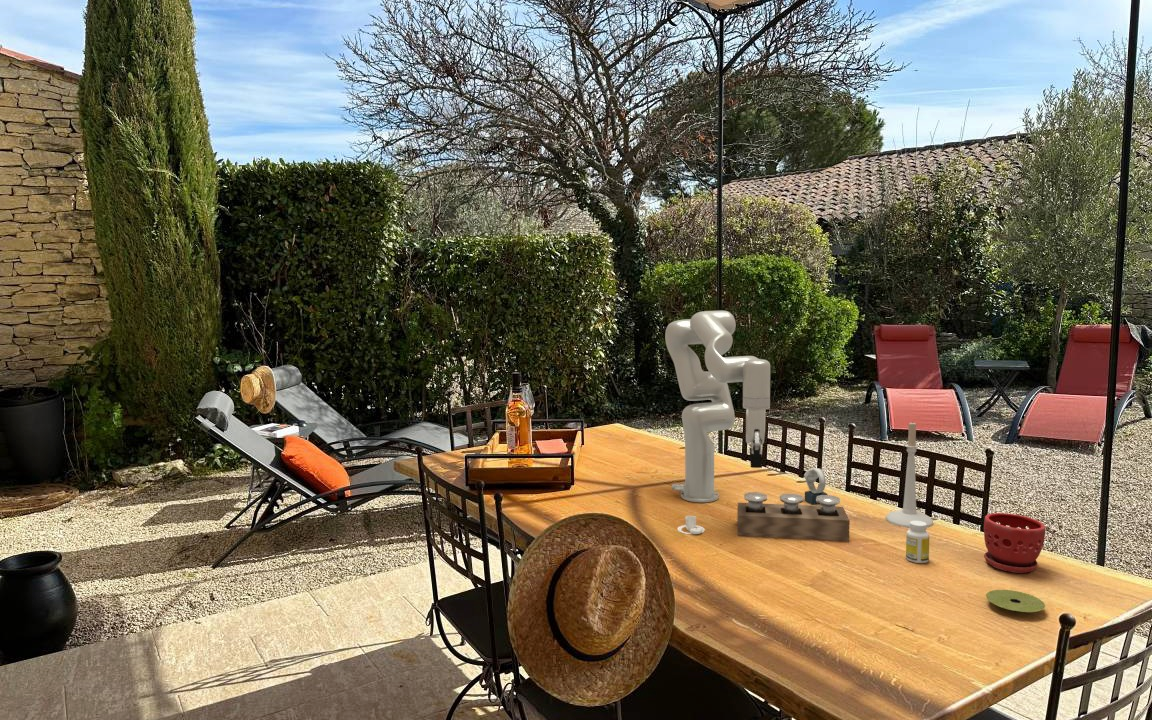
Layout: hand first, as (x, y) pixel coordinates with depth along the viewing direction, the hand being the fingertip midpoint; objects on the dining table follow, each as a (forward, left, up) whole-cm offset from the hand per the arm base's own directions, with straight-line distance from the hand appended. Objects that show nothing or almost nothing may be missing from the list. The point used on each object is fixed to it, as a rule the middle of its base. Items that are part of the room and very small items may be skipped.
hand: (755, 463), depth 214 cm
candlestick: (+45, +14, -20) cm, 51 cm away
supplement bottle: (+40, -17, -20) cm, 48 cm away
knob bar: (+10, 0, -20) cm, 22 cm away
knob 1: (0, 0, -15) cm, 15 cm away
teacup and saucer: (-20, -5, -20) cm, 29 cm away
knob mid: (+10, 0, -15) cm, 18 cm away
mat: (+54, -43, -20) cm, 72 cm away
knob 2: (+20, 0, -15) cm, 25 cm away
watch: (+20, +29, -20) cm, 40 cm away
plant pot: (+62, -18, -20) cm, 68 cm away
